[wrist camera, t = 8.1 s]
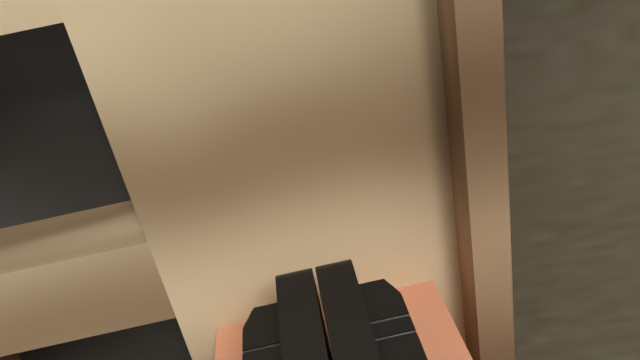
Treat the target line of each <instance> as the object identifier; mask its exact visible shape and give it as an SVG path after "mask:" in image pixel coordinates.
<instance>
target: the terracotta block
mask: <svg viewBox="0 0 640 360" xmlns="http://www.w3.org/2000/svg"><path fill="white" fill-rule="evenodd" d="M396 289H397V290H398V291H399V292H400V293H401V294H402V297H403V299H404V302H405V304H406V307H407V309H408V312H409V315H410V317H411V319H412V322H413V324H414V326H415V329H416V333H417V334H418V336H419V339H420V341H421V344H422V346H423V349H424V351H425V354H426V356H427V359H428V360H473V359H472V357H471V355H470V353H469V351H468V349H467V347H466V345H465V343H464V341H463V339H462V337H461V335H460V333H459V331H458V329H457V327H456V325H455V323H454V321H453V319H452V317H451V315H450V313H449V311H448V309H447V307H446V305H445V303H444V301H443V299H442V297H441V295H440V293H439V291H438V289H437V287H436V285H435V283H434V281H433V280H431V281H427V282H422V283H418V284H413V285H409V286H405V287H400V288H396ZM321 309H322V313H323V318H324V322H325V317H324V312H323V307H322V305H321ZM245 323H246V322H244V323H239V324H235V325H230V326H226V327H221V328H217V333H216V347H215V360H242V354H243V351H242V331H243V327H244V325H245ZM325 326H326V322H325ZM326 331H327V327H326ZM327 335H328V333H327ZM328 340H329V338H328ZM329 345H330V343H329ZM330 349H331V348H330Z"/></svg>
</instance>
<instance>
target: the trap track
mask: <svg viewBox="0 0 640 360" xmlns="http://www.w3.org/2000/svg"><path fill="white" fill-rule="evenodd" d="M349 259H351V260H352V263H353V267H354V270H355V273H356V277H357V280H358V283H359V284H362V283H366V282H371V281H375V280H380V279H385V280H386V281H387V282H388V283H390V284H391V285H392V286H393V287H394V288H400V287H405V286H409V285H413V284H418V283H422V282H427V281H431V280H433V281H434V283H435V285H436V287H437V289H438V291H439V293H440V295H441V297H442V299H443V301H444V303H445V305H446V307H447V309H448V311H449V313H450V315H451V317H452V319H453V321H454V323H455V325H456V327H457V329H458V331H459V333H460V335H461V337H462V339H463V341H464V343H465V345H466V347H467V349H468V351H469V353H470V355H471V357H472V359H473V360H515V343H514V315H513V287H512V259H511V231H510V203H509V175H508V147H507V120H506V92H505V64H504V36H503V8H502V0H0V360H215V347H216V333H217V328H221V327H226V326H230V325H235V324H239V323H244V322H246V321H247V319H248V317H249V315H250V313H251V312H252V310H253V308H255V307H259V306H264V305H268V304H273V303H277V294H276V281H275V276H277V275H282V274H286V273H291V272H295V271H300V270H304V269H309V268H312V270H313V274H314V279H315V283H316V287H317V292H318V296H319V300H320V305H322V301H321V296H320V291H319V286H318V281H317V275H316V270H315V267H317V266H322V265H326V264H331V263H335V262H340V261H344V260H349Z"/></svg>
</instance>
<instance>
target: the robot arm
mask: <svg viewBox="0 0 640 360" xmlns="http://www.w3.org/2000/svg"><path fill="white" fill-rule="evenodd" d="M315 270H316V275H317V281H318V286H319V291H320V296H321V301H322V307H323V312H324V317H325V322H326V326H325V322H324V318H323V313H322V309H321V305H320V300H319V296H318V292H317V287H316V283H315V279H314V274H313V270H312V268H309V269H304V270H300V271H295V272H291V273H286V274H282V275H277V276H275V281H276V294H277V303H273V304H268V305H264V306H259V307H255V308H253V310H252V312H251V313H250V315H249V317H248V319H247V321H246V323H245V325H244V327H243V331H242V351H243V354H242V360H428V359H427V356H426V354H425V351H424V349H423V346H422V344H421V341H420V339H419V336H418V334H417V333H416V329H415V326H414V324H413V322H412V319H411V317H410V315H409V312H408V309H407V307H406V304H405V302H404V299H403V297H402V294H401V293H400V292H399V291H398V290H397V289H396V288H394V287H393V286H392V285H391V284H390V283H388V282H387V281H386V280H385V279H380V280H375V281H371V282H366V283H362V284H359V283H358V280H357V277H356V273H355V270H354V267H353V263H352V260H351V259H349V260H344V261H340V262H335V263H331V264H326V265H322V266H317V267H315ZM326 327H327V331H326ZM327 333H328V335H327ZM328 338H329V340H328ZM329 343H330V345H329ZM330 348H331V349H330Z"/></svg>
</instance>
